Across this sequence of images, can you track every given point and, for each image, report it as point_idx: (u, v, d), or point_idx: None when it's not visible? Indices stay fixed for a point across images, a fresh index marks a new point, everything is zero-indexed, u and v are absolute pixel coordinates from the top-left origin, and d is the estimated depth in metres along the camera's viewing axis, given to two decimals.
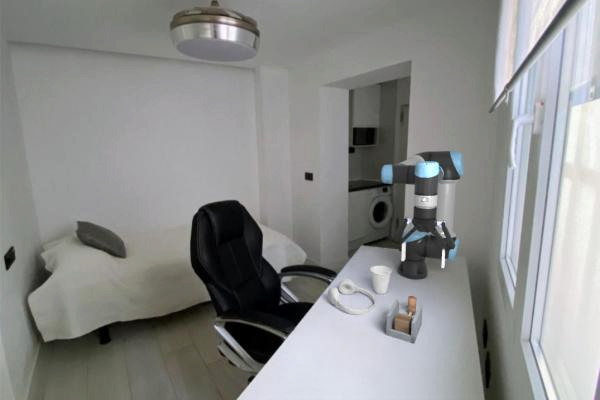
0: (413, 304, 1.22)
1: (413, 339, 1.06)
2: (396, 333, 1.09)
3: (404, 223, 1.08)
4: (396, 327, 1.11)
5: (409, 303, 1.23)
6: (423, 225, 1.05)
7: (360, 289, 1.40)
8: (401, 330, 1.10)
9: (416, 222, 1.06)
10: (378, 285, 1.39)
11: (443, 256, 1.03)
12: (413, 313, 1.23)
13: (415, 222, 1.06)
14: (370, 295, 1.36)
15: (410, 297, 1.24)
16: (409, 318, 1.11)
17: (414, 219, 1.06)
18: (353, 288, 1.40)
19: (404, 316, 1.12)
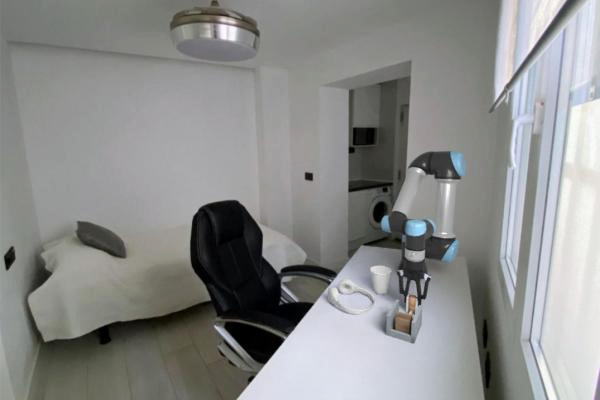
0: (413, 303, 1.23)
1: (413, 339, 1.06)
2: (396, 333, 1.09)
3: (399, 276, 1.24)
4: (397, 326, 1.12)
5: (409, 302, 1.24)
6: (412, 275, 1.21)
7: (360, 289, 1.40)
8: (402, 329, 1.11)
9: (407, 271, 1.22)
10: (378, 285, 1.39)
11: (416, 304, 1.22)
12: (413, 312, 1.24)
13: (406, 271, 1.23)
14: (370, 295, 1.37)
15: (410, 296, 1.24)
16: (410, 317, 1.12)
17: (404, 269, 1.23)
18: (353, 288, 1.40)
19: (405, 315, 1.13)
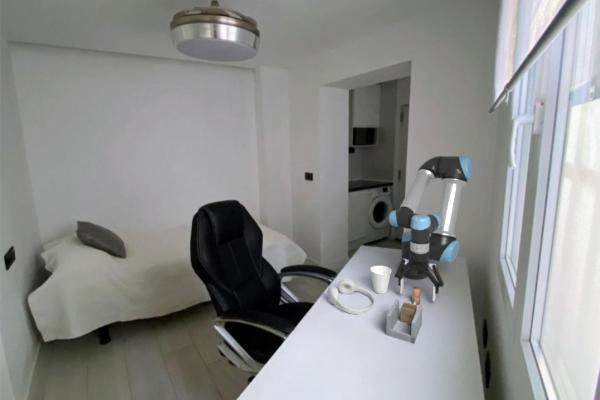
0: (417, 294, 1.29)
1: (413, 339, 1.06)
2: (396, 333, 1.09)
3: (402, 263, 1.33)
4: (402, 315, 1.18)
5: (414, 293, 1.30)
6: (418, 266, 1.29)
7: (360, 289, 1.40)
8: (407, 317, 1.17)
9: (412, 263, 1.31)
10: (378, 285, 1.39)
11: (434, 292, 1.28)
12: (417, 303, 1.30)
13: (411, 263, 1.31)
14: (369, 295, 1.37)
15: (414, 288, 1.31)
16: (414, 306, 1.18)
17: (410, 261, 1.31)
18: (353, 288, 1.40)
19: (409, 305, 1.20)
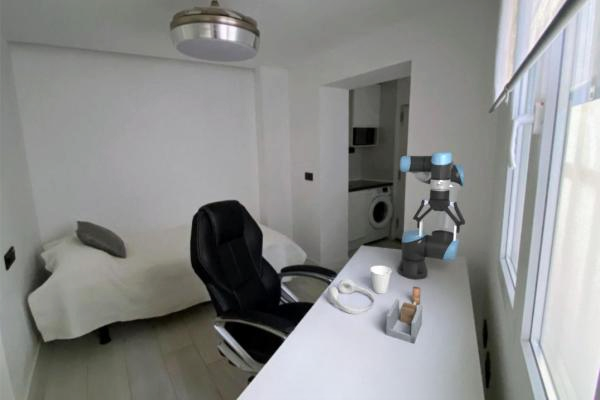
0: (417, 294, 1.29)
1: (413, 339, 1.06)
2: (396, 333, 1.09)
3: (422, 204, 1.29)
4: (402, 315, 1.18)
5: (413, 293, 1.30)
6: (438, 205, 1.26)
7: (360, 288, 1.41)
8: (407, 317, 1.17)
9: (432, 203, 1.27)
10: (378, 285, 1.39)
11: (455, 230, 1.24)
12: (417, 303, 1.30)
13: (431, 203, 1.27)
14: (369, 295, 1.37)
15: (414, 288, 1.31)
16: (414, 306, 1.18)
17: (430, 200, 1.27)
18: (353, 287, 1.40)
19: (409, 305, 1.20)
